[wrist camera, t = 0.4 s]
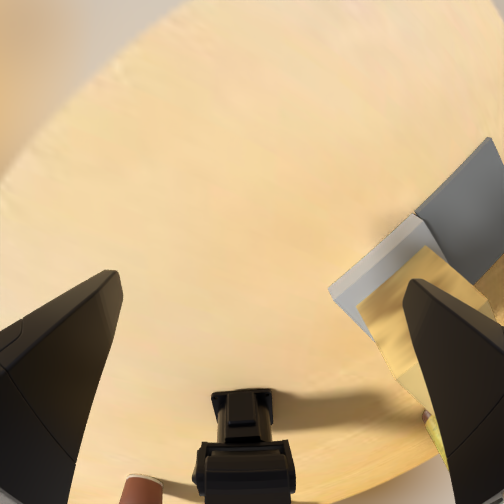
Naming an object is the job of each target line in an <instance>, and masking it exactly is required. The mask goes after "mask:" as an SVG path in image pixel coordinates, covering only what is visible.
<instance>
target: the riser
mask: <svg viewBox="0 0 504 504" xmlns="http://www.w3.org/2000/svg"><path fill="white" fill-rule="evenodd" d="M425 245H426V246H427V247H428V248H430V249H431V250H432V251H433V252H435V253H436V254H437V255H438V256H439V257H441V258H442V259H443V260H444V261H445V262H446V263H448V262H447V260H446V258H445V256H444V254H443V253H442V251H441V249H440V248H439V246H438V244H437V242H436V241H435V239H434V237H433V236H432V234H431V232H430V231H429V229H428V227H427V226H426V224H425V223H424V221H423V220H422V219H420V218H419V217H417V216H416V215H414V214H411V215H410V216H409V217H408V218H406V219H405V220H404V221H403V222H402V223H401V224H400V225H399V226H398V227H397V228H396V229H395V230H394V231H392V232H391V233H390V234H389V235H388V236H387V237H386V238H385V239H384V240H383V241H381V242H380V243H379V244H378V245H377V246H376V247H375V248H374V249H373V250H371V251H370V252H369V253H368V254H367V255H366V256H365V257H363V258H362V259H361V260H360V261H359V262H358V263H357V264H355V265H354V266H353V267H352V268H351V269H350V270H348V271H347V272H346V273H345V274H344V275H343V276H341V277H340V278H339V279H338V280H337V281H336V282H334V283H333V284H332V285H331V286H330V287H328V290H329V292H330V294H331V297H332V299H333V301H334V302H335V303H336V304H337V305H338V306H339V307H340V308H341V309H342V310H343V311H344V312H345V313H346V314H347V315H348V316H349V317H350V318H351V319H352V320H353V321H354V322H355V323H356V324H357V325H358V326H359V327H360V328H361V329H362V330H363V331H364V332H365V333H366V334H367V335H368V336H369V337H370V338H371V339H372V340H373V341H374V339H373V337H372V335H371V333H370V331H369V330H368V328H367V326H366V324H365V322H364V321H363V319H362V317H361V315H360V313H359V312H358V310H357V308H356V306H357V305H358V304H359V303H360V302H361V301H363V300H364V299H365V298H366V297H367V296H369V295H370V294H371V293H372V292H373V291H374V290H376V289H377V288H378V287H379V286H380V285H381V284H383V283H384V282H385V281H386V280H387V279H388V278H390V277H391V276H392V275H393V274H394V273H395V272H396V271H397V270H399V269H400V268H401V267H402V266H403V265H404V264H405V263H406V262H407V261H409V260H410V259H411V258H412V257H413V256H414V255H415V254H416V253H417V252H418V251H419V250H420V249H422V248H423V247H424V246H425ZM448 264H449V263H448ZM374 342H375V341H374Z"/></svg>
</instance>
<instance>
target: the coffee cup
mask: <svg viewBox="0 0 504 504" xmlns="http://www.w3.org/2000/svg"><path fill="white" fill-rule="evenodd" d="M162 494H163V484H162V483H161V481H159V480H157V479H155V478H153V477H150V476H146V475H142V474H131V475H128V476H127V479H126V483H125V486H124V489H123V492H122V496H121V499H120V502H119V504H162Z"/></svg>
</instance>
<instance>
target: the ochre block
mask: <svg viewBox="0 0 504 504" xmlns="http://www.w3.org/2000/svg"><path fill="white" fill-rule="evenodd" d="M413 278H421V279H424V280H426V281H427V282H429V283H431V284H433V285H435V286H436V287H438V288H440V289H442V290H443V291H445V292H447V293H449V294H450V295H452V296H454V297H455V298H457V299H459V300H461V301H462V302H464V303H466V304H467V305H469V306H471V307H472V308H474V309H476V310H477V311H479V312H481V313H482V314H484V315H486V316H487V317H489V318H491V319H492V320H494V321H495V322H496V319H495V316H494V314H493V311H492V308H491V306H490V303H489V301H488V299H487V298H486V297H485V296H484V295H483V294H481V293H480V292H479V291H478V290H477V289H476V288H475V287H474V286H473V285H472V284H470V283H469V282H468V281H467V280H466V279H465V278H464V277H463V276H461V275H460V274H459V273H458V272H457V271H456V270H455V269H453V268H452V267H451V266H450V265H449V264H448V263H446V262H445V261H444V260H443V259H442V258H441V257H439V256H438V255H437V254H436V253H435V252H433V251H432V250H431V249H430V248H428V247H427V246H426V245H425V246H424V247H423V248H422V249H420V250H419V251H418V252H417V253H416V254H415V255H414V256H413V257H412V258H411V259H410V260H409V261H407V262H406V263H405V264H404V265H403V266H402V267H401V268H400V269H399V270H397V271H396V272H395V273H394V274H393V275H392V276H391V277H390V278H388V279H387V280H386V281H385V282H384V283H383V284H381V285H380V286H379V287H378V288H377V289H376V290H374V291H373V292H372V293H371V294H370V295H369V296H367V297H366V298H365V299H364V300H363V301H361V302H360V303H359V304H358V305H357V306H356V308H357V310H358V312H359V313H360V315H361V317H362V319H363V321H364V322H365V324H366V326H367V328H368V330H369V331H370V333H371V335H372V337H373V339H374V341H375V343H376V344H377V346H378V348H379V350H380V352H381V354H382V356H383V358H384V359H385V361H386V363H387V365H388V367H389V369H390V371H391V373H392V375H393V377H394V379H395V380H396V381H397V382H398V383H399V384H400V385H401V386H402V387H403V388H404V389H405V390H406V391H407V392H408V393H409V394H411V395H412V396H413V397H414V398H415V399H416V400H417V401H418V402H419V403H420V404H421V405H422V406H423V407H424V408H425V409H426V410H427V411H428V412H429V413H430V414H432V415H433V416H434V415H435V413H434V410H433V406H432V403H431V400H430V396H429V393H428V390H427V387H426V384H425V380H424V377H423V374H422V371H421V368H420V365H419V363H418V360H417V357H416V354H415V351H414V348H413V345H412V341H411V338H410V333H409V330H408V326H407V322H406V318H405V314H404V311H403V307H402V301H403V297H404V294H405V291H406V288H407V285H408V283H409V281H410V280H411V279H413Z"/></svg>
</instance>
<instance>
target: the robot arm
mask: <svg viewBox="0 0 504 504" xmlns="http://www.w3.org/2000/svg"><path fill="white" fill-rule="evenodd" d="M122 302H123V291H122V286H121V281H120V276H119V273H118V272H117V271H116V270H104V271H102V272H100V273H98V274H97V275H95V276H93V277H91V278H89V279H88V280H86V281H84V282H82V283H81V284H79V285H77V286H75V287H74V288H72V289H70V290H69V291H67V292H65V293H63V294H62V295H60V296H58V297H57V298H55V299H53V300H51V301H50V302H48V303H46V304H45V305H43V306H41V307H40V308H38V309H36V310H35V311H33V312H31V313H30V314H28V315H26V316H25V317H23V319H20V320H18V321H17V322H15V323H13V324H12V325H10V326H8V327H7V328H5V329H3V330H2V331H0V504H67V502H68V497H69V493H70V488H71V483H72V479H73V475H74V470H75V466H76V464H75V463H76V461H77V457H78V453H79V449H80V446H81V442H82V438H83V434H84V431H85V427H86V424H87V420H88V417H89V413H90V410H91V406H92V403H93V400H94V397H95V393H96V390H97V387H98V384H99V381H100V378H101V375H102V372H103V369H104V366H105V363H106V360H107V357H108V354H109V351H110V348H111V345H112V342H113V338H114V335H115V330H116V326H117V322H118V318H119V314H120V310H121V306H122ZM402 307H403V311H404V314H405V318H406V322H407V326H408V330H409V333H410V338H411V341H412V345H413V348H414V351H415V354H416V357H417V360H418V363H419V365H420V368H421V371H422V374H423V377H424V380H425V384H426V387H427V390H428V393H429V396H430V400H431V403H432V406H433V410H434V413H435V417H436V420H437V424H438V427H439V431H440V435H441V439H442V442H443V446H444V450H445V454H446V458H447V464H448V468H449V472H450V477H451V482H452V487H453V491H454V497H455V503H456V504H490V503H492V502H494V501H496V500H498V499H499V498H501V497H502V498H503V500H504V326H501V325H500V324H499V323H497V322H495V321H494V320H492V319H491V318H489V317H487V316H486V315H484V314H482V313H481V312H479V311H477V310H476V309H474V308H472V307H471V306H469V305H467V304H466V303H464V302H462V301H461V300H459V299H457V298H455V297H454V296H452V295H450V294H449V293H447V292H445V291H443V290H442V289H440V288H438V287H436V286H435V285H433V284H431V283H429V282H427V281H426V280H424V279H421V278H413V279H411V280H410V281H409V283H408V285H407V288H406V291H405V294H404V297H403V301H402ZM266 393H268V394H266ZM211 400H212V404H213V408H214V412H215V416H216V419H217V423H218V432H217V443H207V442H202V445H201V448H199V450H197V461H196V466H195V469H194V472H193V475H192V482H194V483H195V484H196V485H197V489H198V491H199V495H200V496H205V504H291V496H290V494H293V493H295V490H296V474H295V467H294V462H293V458H292V454H291V450H290V446H289V442H288V440H282V441H272V434H271V425H272V424H273V411H272V393H271V390H269V389H264V390H252V391H238V392H221V393H213V394H212V395H211Z"/></svg>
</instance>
